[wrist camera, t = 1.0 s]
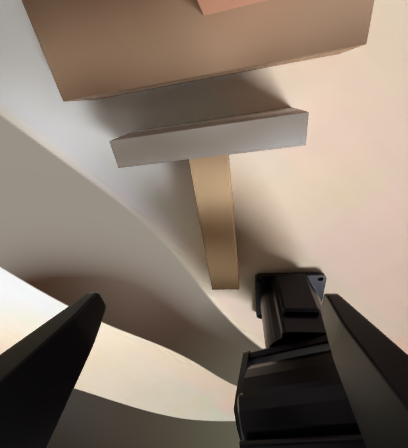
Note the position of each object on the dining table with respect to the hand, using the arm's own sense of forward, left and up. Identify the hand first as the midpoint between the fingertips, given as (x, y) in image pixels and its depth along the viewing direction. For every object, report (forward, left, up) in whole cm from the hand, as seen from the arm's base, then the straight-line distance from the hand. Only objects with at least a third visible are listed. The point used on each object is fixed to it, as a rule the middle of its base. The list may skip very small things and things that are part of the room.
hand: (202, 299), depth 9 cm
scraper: (-1, 0, -11) cm, 11 cm away
